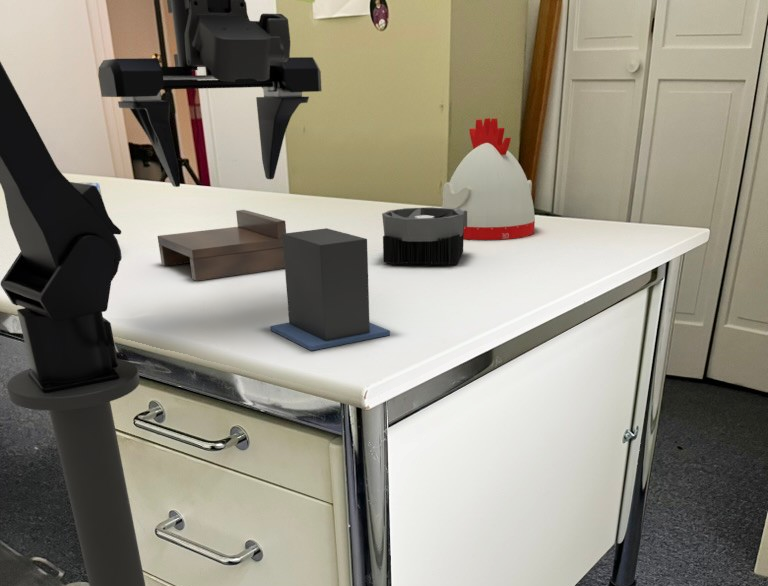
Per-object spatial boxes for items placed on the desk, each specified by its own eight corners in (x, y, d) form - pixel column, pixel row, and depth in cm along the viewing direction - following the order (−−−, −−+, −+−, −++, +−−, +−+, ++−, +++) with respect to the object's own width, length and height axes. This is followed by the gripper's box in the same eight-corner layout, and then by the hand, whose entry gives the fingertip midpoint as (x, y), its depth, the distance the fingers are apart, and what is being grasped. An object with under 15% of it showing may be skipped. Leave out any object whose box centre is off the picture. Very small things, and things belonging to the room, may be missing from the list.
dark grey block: (325, 341, 69) (320, 245, 65) (289, 323, 74) (282, 233, 71) (370, 332, 71) (367, 238, 68) (331, 316, 77) (326, 228, 73)
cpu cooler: (375, 217, 95) (390, 205, 104) (376, 266, 98) (390, 250, 107) (462, 217, 94) (469, 205, 102) (460, 268, 96) (468, 252, 105)
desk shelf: (196, 281, 93) (189, 231, 90) (161, 264, 102) (154, 218, 99) (289, 267, 99) (285, 220, 96) (248, 253, 108) (244, 209, 105)
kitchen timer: (493, 221, 127) (498, 115, 120) (554, 232, 117) (562, 117, 110) (421, 230, 121) (421, 119, 113) (478, 243, 110) (482, 122, 103)
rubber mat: (311, 350, 68) (310, 346, 68) (270, 330, 74) (269, 325, 74) (390, 335, 72) (390, 330, 72) (345, 316, 78) (345, 312, 78)
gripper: (116, -33, 57) (150, 200, 65) (346, -23, 66) (353, 182, 73) (81, -17, 66) (115, 187, 73) (289, -10, 74) (300, 173, 82)
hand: (224, 182), depth 75 cm, fingers open, 9 cm apart
